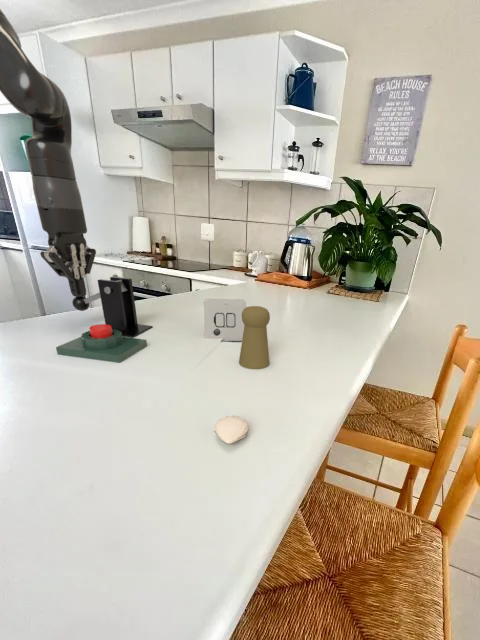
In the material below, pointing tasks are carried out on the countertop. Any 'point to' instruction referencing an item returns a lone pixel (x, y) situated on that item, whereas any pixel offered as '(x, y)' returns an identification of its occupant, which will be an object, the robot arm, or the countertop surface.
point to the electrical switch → (224, 319)
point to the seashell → (231, 429)
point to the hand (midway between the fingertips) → (79, 296)
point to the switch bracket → (120, 307)
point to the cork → (255, 338)
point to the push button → (101, 331)
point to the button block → (102, 347)
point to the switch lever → (90, 299)
